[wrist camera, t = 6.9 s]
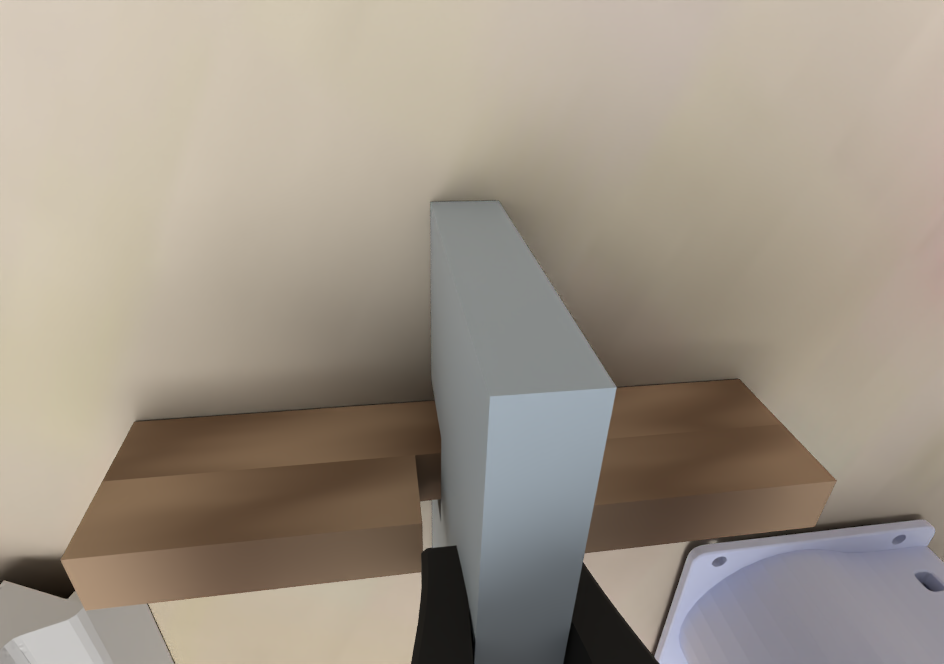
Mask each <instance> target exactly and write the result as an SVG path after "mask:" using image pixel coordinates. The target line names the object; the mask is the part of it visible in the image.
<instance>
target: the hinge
mask: <svg viewBox="0 0 944 664" xmlns="http://www.w3.org/2000/svg"><path fill="white" fill-rule="evenodd" d="M0 664H174V662H173V660H172V657H171V655H170V653H169V651H168V649H167V646H166V644H165V642H164V640H163V638H162V636H161V633H160V631H159V629H158V627H157V625H156V622H155V620H154V618H153V616H152V614H151V611H150V609H149V607H148V605H147V604H139V605H130V606H122V607H113V608H104V609H96V610H87V611H85V609H84V607H83V605H82V603H81V601H80V599H79V597H78V595H77V593H76V591H74V593H73V594H72V595H71V596H70V597H69V598H68V599H64V598H61V597H58V596H54V595H51V594H48V593H44V592H41V591H38V590H35V589H31V588H28V587H25V586H21V585H18V584H15V583H11V582H8V581H5V580H4V581H3V582H2V583H1V584H0Z"/></svg>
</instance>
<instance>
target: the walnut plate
mask: <svg viewBox="0 0 944 664" xmlns="http://www.w3.org/2000/svg"><path fill="white" fill-rule="evenodd" d="M835 483H836V480H835V478H834V477H833V476H832V475H831V474H830V473H829V472H828V471H827V470H826V469H825V468H824V467H823V466H822V465H821V464H820V463H819V462H818V461H817V460H816V459H815V458H814V457H813V456H812V454H811V453H810V452H809V451H808V450H807V449H806V448H805V447H804V446H803V445H802V444H801V443H800V442H799V441H798V440H797V439H796V438H795V437H794V436H793V435H792V434H791V433H790V432H789V430H788V429H787V428H786V427H785V426H784V425H783V424H782V423H781V422H780V421H779V420H778V419H777V418H776V417H775V416H774V415H773V414H772V413H771V412H770V411H769V410H768V409H767V408H766V407H765V405H764V404H763V403H762V402H761V401H760V400H759V399H758V398H757V397H756V396H755V395H754V394H753V393H752V392H751V391H750V390H749V389H748V388H747V387H746V386H745V385H744V384H743V383H742V381H741V380H740V379H734V380H720V381H706V382H692V383H678V384H664V385H649V386H635V387H621V388H616V394H615V399H614V404H613V409H612V414H611V419H610V424H609V430H608V435H607V440H606V445H605V450H604V455H603V461H602V466H601V471H600V476H599V481H598V486H597V491H596V497H595V502H594V507H593V512H592V517H591V522H590V528H589V533H588V538H587V543H586V548H585V553H591V552H600V551H608V550H617V549H626V548H634V547H643V546H652V545H660V544H669V543H678V542H687V541H695V540H704V539H713V538H721V537H730V536H739V535H747V534H756V533H765V532H773V531H782V530H791V529H799V528H808V527H815V525H816V523H817V521H818V519H819V517H820V515H821V512H822V510H823V508H824V506H825V504H826V502H827V500H828V498H829V496H830V494H831V492H832V489H833V487H834V485H835ZM438 499H441V434H440V428H439V422H438V416H437V410H436V404H435V401H423V402H409V403H394V404H380V405H366V406H352V407H338V408H323V409H309V410H295V411H281V412H267V413H253V414H238V415H224V416H210V417H196V418H182V419H168V420H153V421H139V422H134V423H133V425H132V427H131V429H130V431H129V433H128V434H127V436H126V438H125V440H124V442H123V444H122V446H121V448H120V449H119V451H118V453H117V455H116V457H115V459H114V461H113V463H112V464H111V466H110V468H109V470H108V472H107V474H106V476H105V478H104V479H103V481H102V483H101V485H100V487H99V489H98V491H97V493H96V494H95V496H94V498H93V500H92V502H91V504H90V506H89V508H88V509H87V511H86V513H85V515H84V517H83V519H82V521H81V523H80V524H79V526H78V528H77V530H76V532H75V534H74V536H73V538H72V539H71V541H70V543H69V545H68V547H67V549H66V551H65V553H64V554H63V556H62V558H61V562H62V564H63V566H64V568H65V570H66V573H67V575H68V577H69V579H70V581H71V583H72V585H73V587H74V589H75V591H76V593H77V595H78V597H79V599H80V601H81V603H82V605H83V607H84V609H85V611H87V610H96V609H104V608H113V607H122V606H130V605H139V604H148V603H157V602H165V601H174V600H183V599H191V598H200V597H209V596H217V595H226V594H235V593H243V592H252V591H261V590H269V589H278V588H287V587H296V586H304V585H313V584H322V583H330V582H339V581H348V580H356V579H365V578H374V577H382V576H391V575H400V574H408V573H417V572H421V553H422V552H423V538H422V516H421V507H420V501H427V500H438Z"/></svg>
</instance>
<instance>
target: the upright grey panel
mask: <svg viewBox="0 0 944 664" xmlns="http://www.w3.org/2000/svg"><path fill="white" fill-rule="evenodd" d="M430 226H431V381H432V386H433V392H434V398H435V404H436V410H437V416H438V422H439V428H440V434H441V499H438V500H432V548H436V547H445V546H454V545H457V550H458V554H459V558H460V563H461V567H462V572H463V577H464V582H465V587H466V592H467V597H468V604H469V616H470V628H471V640H472V652H473V664H563V661H564V656H565V651H566V646H567V641H568V636H569V631H570V625H571V620H572V615H573V610H574V605H575V600H576V594H577V589H578V584H579V579H580V574H581V569H582V564H583V558H584V553H585V548H586V543H587V538H588V533H589V528H590V522H591V517H592V512H593V507H594V502H595V497H596V491H597V486H598V481H599V476H600V471H601V466H602V461H603V455H604V450H605V445H606V440H607V435H608V430H609V424H610V419H611V414H612V409H613V404H614V399H615V394H616V388H617V387H616V386H615V384H614V383H613V381H612V379H611V378H610V376H609V375H608V373H607V371H606V370H605V368H604V367H603V365H602V364H601V362H600V360H599V359H598V357H597V356H596V354H595V352H594V351H593V349H592V348H591V346H590V345H589V343H588V341H587V340H586V338H585V337H584V335H583V333H582V332H581V330H580V329H579V327H578V325H577V324H576V322H575V321H574V319H573V318H572V316H571V314H570V313H569V311H568V310H567V308H566V306H565V305H564V303H563V302H562V300H561V299H560V297H559V295H558V294H557V292H556V291H555V289H554V287H553V286H552V284H551V283H550V281H549V280H548V278H547V276H546V275H545V273H544V272H543V270H542V268H541V267H540V265H539V264H538V262H537V261H536V259H535V257H534V256H533V254H532V253H531V251H530V249H529V248H528V246H527V245H526V243H525V242H524V240H523V238H522V237H521V235H520V234H519V232H518V230H517V229H516V227H515V226H514V224H513V223H512V221H511V219H510V218H509V216H508V215H507V213H506V211H505V210H504V208H503V207H502V205H501V203H500V202H499V201H450V202H430Z"/></svg>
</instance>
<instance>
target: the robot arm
mask: <svg viewBox="0 0 944 664" xmlns="http://www.w3.org/2000/svg"><path fill="white" fill-rule="evenodd" d="M934 534H935V528H934V527H933V526H932V525H931V524H930V523H929V522H928V521H926V520H911V521H903V522H894V523H885V524H877V525H868V526H860V527H851V528H843V529H834V530H825V531H817V532H808V533H800V534H791V535H782V536H774V537H765V538H757V539H748V540H740V541H731V542H722V543H714V544H705V545H700V546H697V547H695V548H694V549H692V550H691V551H690V553H689V554H688V556H687V559H686V562H685V565H684V568H683V571H682V574H681V577H680V580H679V583H678V586H677V589H676V592H675V595H674V598H673V601H672V604H671V608H670V611H669V614H668V617H667V620H666V623H665V626H664V629H663V632H662V635H661V638H660V641H659V644H658V647H657V650H656V653H655V656H653V655H652V654H651V653H650V651H649V650H648V649H647V648H646V646H645V645H644V644H643V643H642V641H641V640H640V639H639V638H638V636H637V635H636V634H635V633H634V631H633V630H632V629H631V627H630V626H629V625H628V624H627V622H626V621H625V620H624V618H623V617H622V616H621V615H620V613H619V612H618V611H617V609H616V608H615V607H614V605H613V604H612V603H611V601H610V600H609V599H608V597H607V596H606V594H605V593H604V592H603V590H602V589H601V587H600V586H599V585H598V583H597V582H596V580H595V579H594V578H593V576H592V575H591V573H590V572H589V570H588V569H587V567H586V566H585V564H584V563H583V564H582V569H581V574H580V579H579V584H578V589H577V594H576V600H575V605H574V610H573V615H572V620H571V625H570V631H569V636H568V641H567V646H566V651H565V656H564V661H563V664H944V562H943V561H942V560H941V559H940V558H939V557H937V556H936V555H935V554H934V553H933V552H932V551H931V550H930V549H929V548H928V547H927V545H928V544H929V542H930V541H931V539H932V538H933V536H934ZM421 575H422V590H421V602H420V610H419V619H418V626H417V632H416V638H415V644H414V650H413V656H412V662H411V664H473V652H472V640H471V628H470V616H469V604H468V597H467V592H466V587H465V582H464V577H463V572H462V567H461V563H460V558H459V554H458V550H457V545H454V546H445V547H436V548H427V549H426V550H424V551H423V552H422V553H421Z"/></svg>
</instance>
